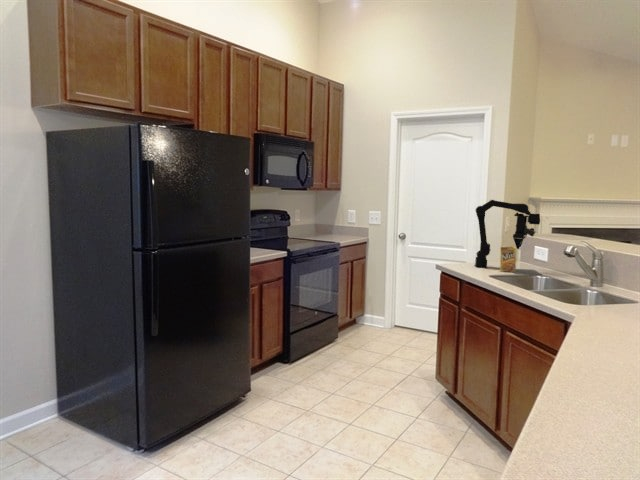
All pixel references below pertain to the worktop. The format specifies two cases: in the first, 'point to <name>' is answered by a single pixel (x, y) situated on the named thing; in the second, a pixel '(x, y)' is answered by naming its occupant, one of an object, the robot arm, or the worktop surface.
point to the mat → (527, 272)
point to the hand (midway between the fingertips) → (518, 248)
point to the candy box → (508, 258)
